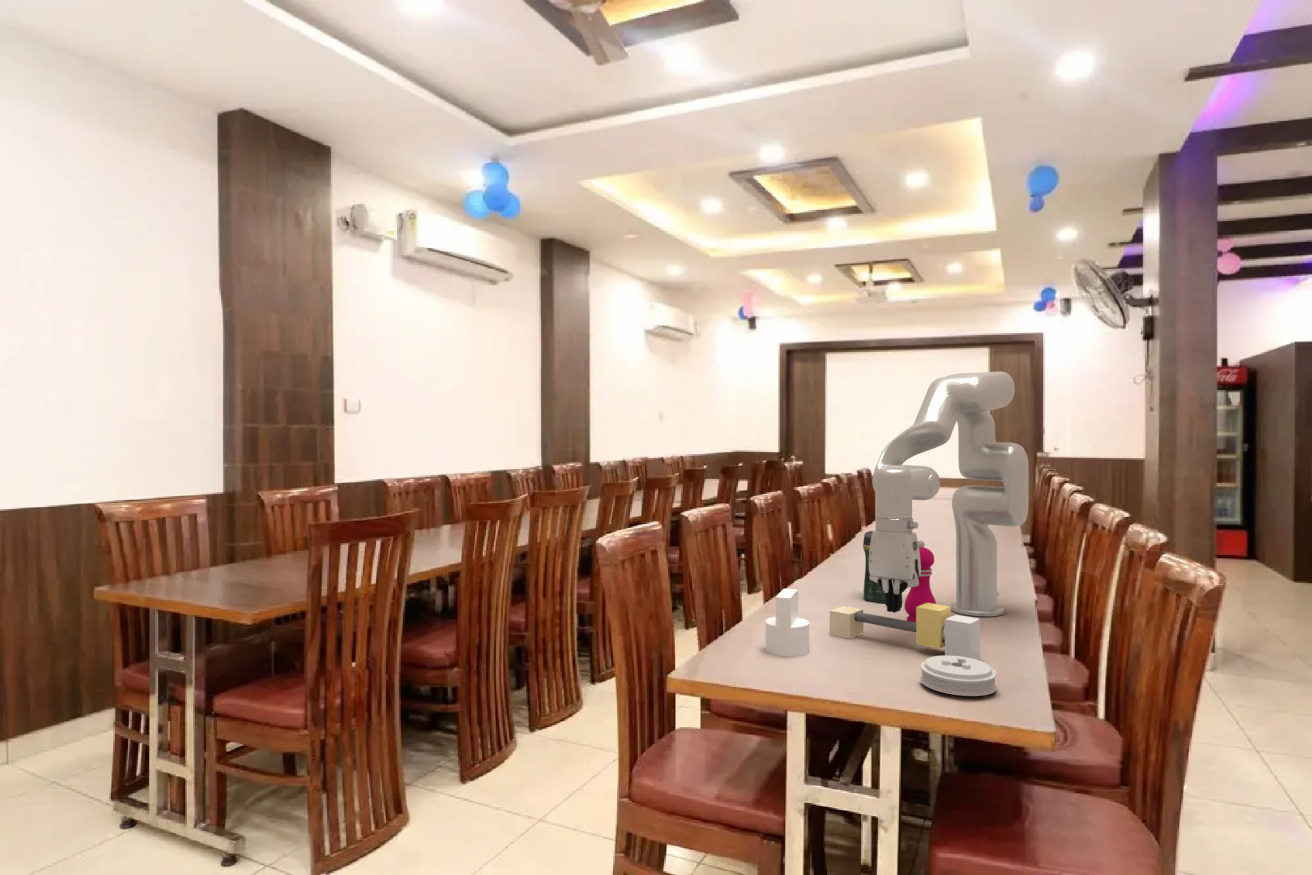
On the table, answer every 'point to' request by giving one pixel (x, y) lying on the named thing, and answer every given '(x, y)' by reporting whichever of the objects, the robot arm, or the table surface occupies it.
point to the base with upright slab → (787, 627)
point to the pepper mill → (921, 585)
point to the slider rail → (912, 629)
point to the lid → (958, 675)
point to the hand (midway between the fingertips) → (893, 610)
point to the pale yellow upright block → (931, 624)
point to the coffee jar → (870, 587)
